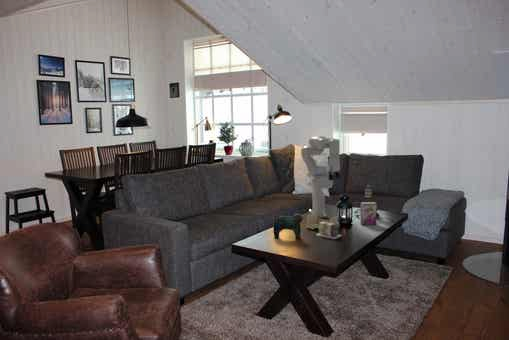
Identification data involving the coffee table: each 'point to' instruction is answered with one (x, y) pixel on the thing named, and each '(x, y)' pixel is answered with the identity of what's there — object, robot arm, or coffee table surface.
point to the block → (328, 229)
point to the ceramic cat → (288, 224)
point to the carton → (318, 221)
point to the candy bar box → (368, 213)
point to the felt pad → (328, 236)
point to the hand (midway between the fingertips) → (334, 179)
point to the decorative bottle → (367, 197)
